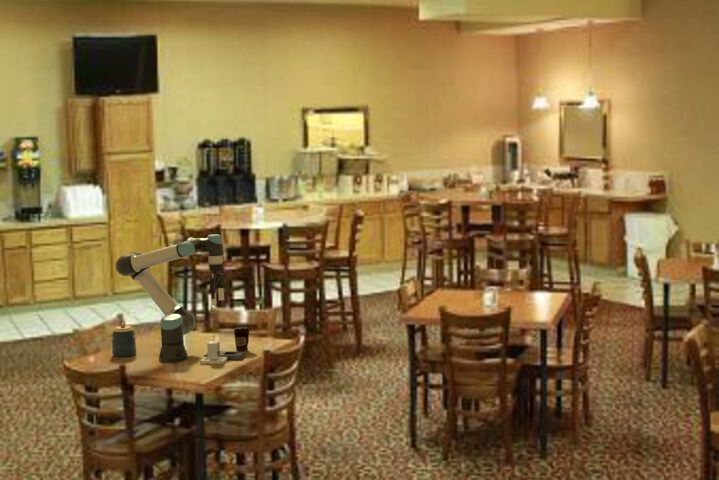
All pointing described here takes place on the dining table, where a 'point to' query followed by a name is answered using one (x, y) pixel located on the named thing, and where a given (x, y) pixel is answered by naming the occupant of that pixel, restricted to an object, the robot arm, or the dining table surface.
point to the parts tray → (205, 361)
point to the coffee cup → (241, 338)
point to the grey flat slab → (231, 355)
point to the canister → (123, 341)
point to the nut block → (213, 351)
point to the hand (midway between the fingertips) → (217, 302)
